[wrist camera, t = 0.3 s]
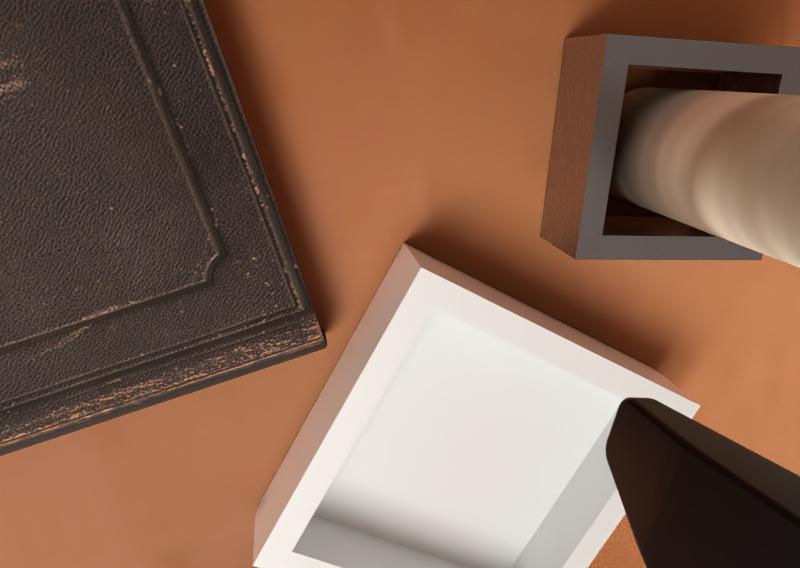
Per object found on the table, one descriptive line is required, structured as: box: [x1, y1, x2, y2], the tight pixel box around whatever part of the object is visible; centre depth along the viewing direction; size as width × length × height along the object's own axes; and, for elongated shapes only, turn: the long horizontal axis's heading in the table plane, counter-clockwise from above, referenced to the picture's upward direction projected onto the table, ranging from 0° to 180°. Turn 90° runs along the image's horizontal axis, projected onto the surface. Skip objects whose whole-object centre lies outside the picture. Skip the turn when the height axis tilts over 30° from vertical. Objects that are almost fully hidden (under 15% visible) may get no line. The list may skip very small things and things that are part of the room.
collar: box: [540, 34, 800, 260], centre depth 22 cm, size 7×7×3 cm
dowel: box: [609, 87, 800, 268], centre depth 17 cm, size 4×4×13 cm
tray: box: [253, 243, 700, 568], centre depth 24 cm, size 12×12×3 cm
